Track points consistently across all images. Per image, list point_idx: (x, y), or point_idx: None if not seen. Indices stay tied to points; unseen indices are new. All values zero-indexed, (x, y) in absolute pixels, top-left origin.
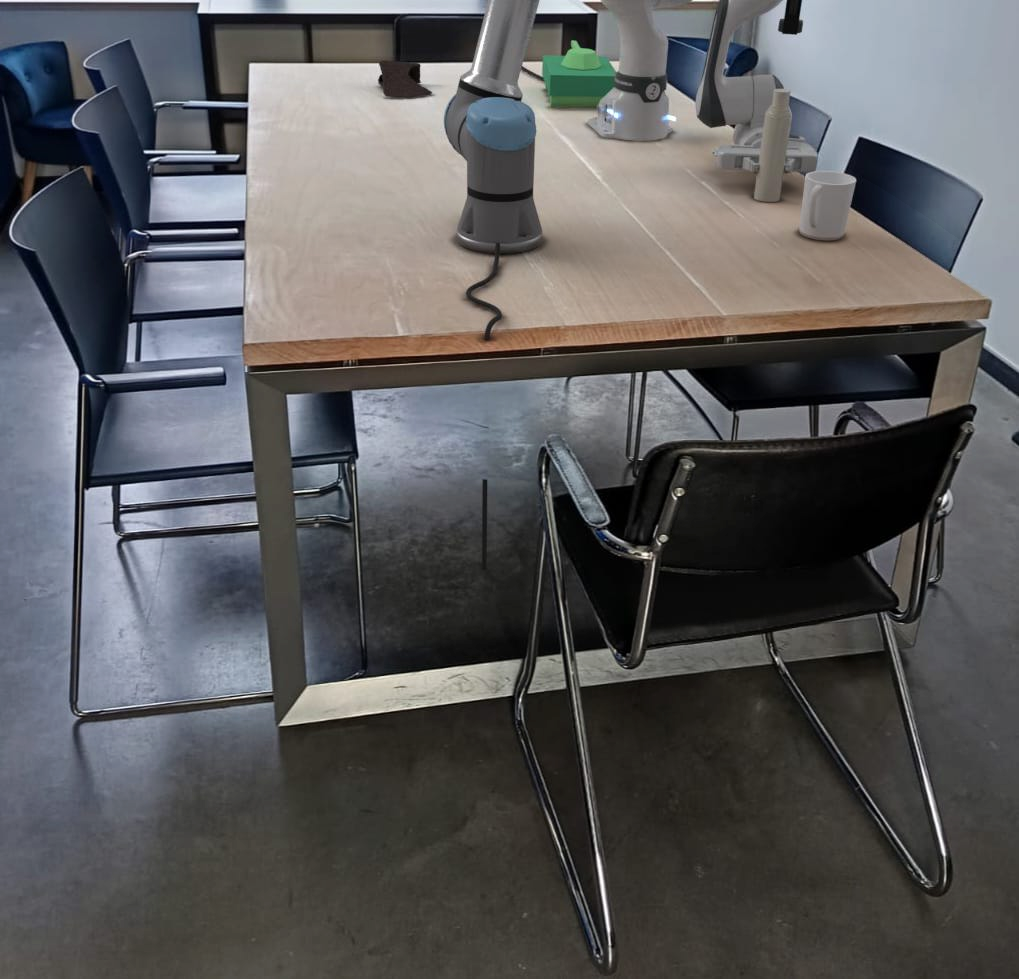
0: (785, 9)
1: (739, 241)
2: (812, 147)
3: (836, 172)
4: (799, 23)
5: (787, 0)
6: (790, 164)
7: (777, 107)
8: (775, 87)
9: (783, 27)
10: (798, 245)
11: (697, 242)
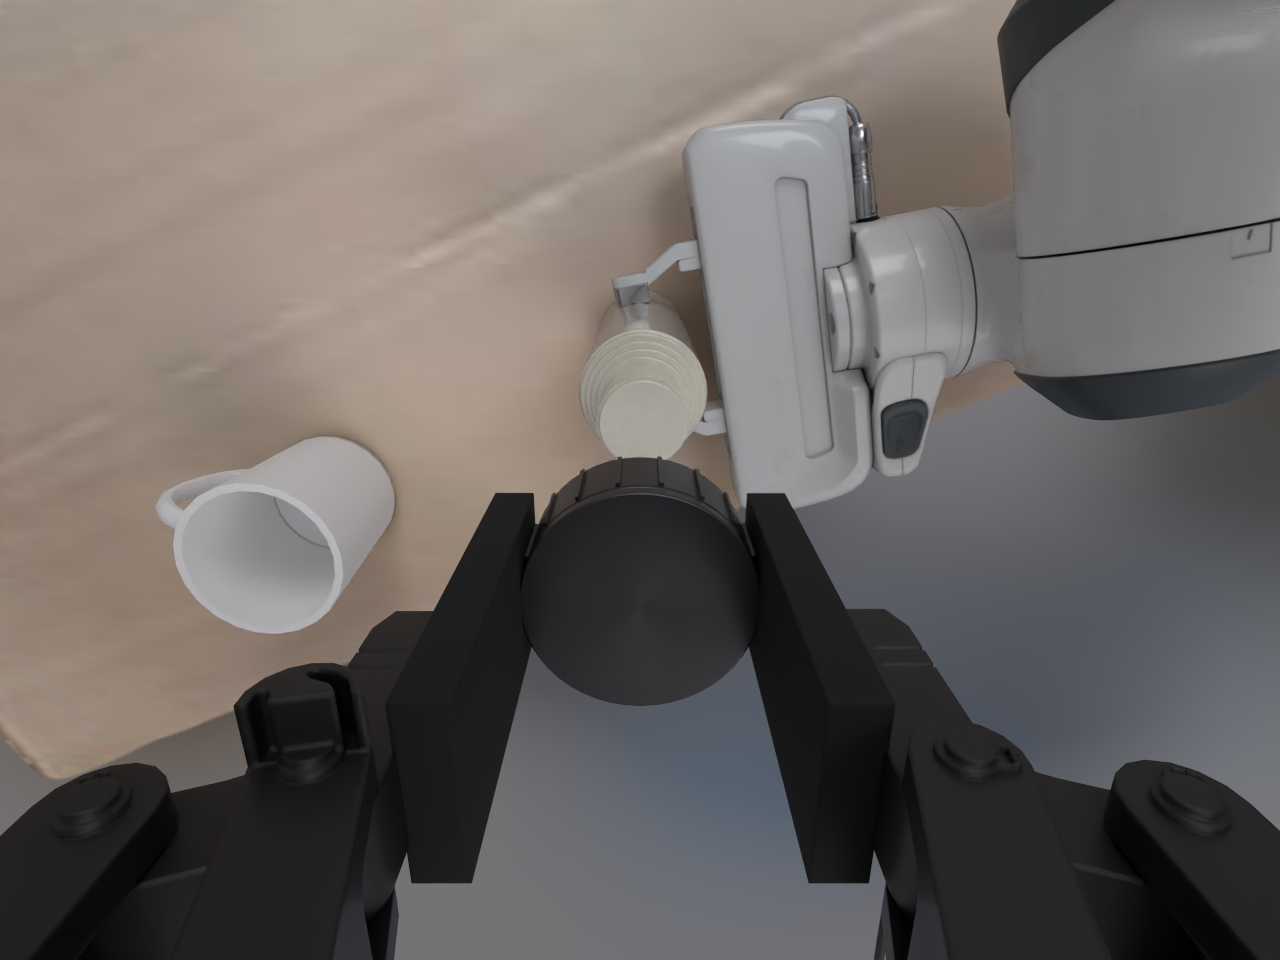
0: (781, 578)
1: (168, 266)
2: (822, 499)
3: (335, 579)
4: (560, 669)
5: (407, 670)
6: None
7: (599, 392)
8: (1111, 371)
9: (484, 519)
10: (217, 433)
11: (90, 131)
